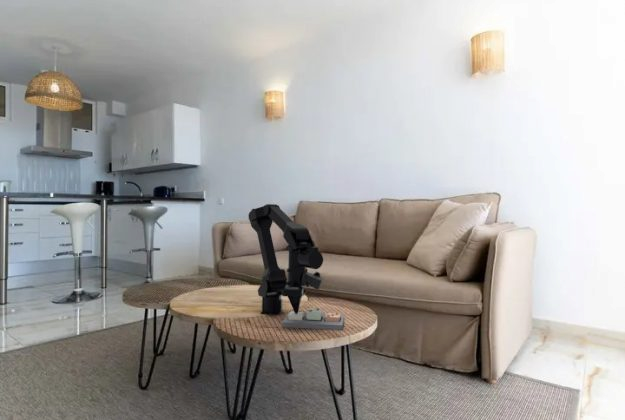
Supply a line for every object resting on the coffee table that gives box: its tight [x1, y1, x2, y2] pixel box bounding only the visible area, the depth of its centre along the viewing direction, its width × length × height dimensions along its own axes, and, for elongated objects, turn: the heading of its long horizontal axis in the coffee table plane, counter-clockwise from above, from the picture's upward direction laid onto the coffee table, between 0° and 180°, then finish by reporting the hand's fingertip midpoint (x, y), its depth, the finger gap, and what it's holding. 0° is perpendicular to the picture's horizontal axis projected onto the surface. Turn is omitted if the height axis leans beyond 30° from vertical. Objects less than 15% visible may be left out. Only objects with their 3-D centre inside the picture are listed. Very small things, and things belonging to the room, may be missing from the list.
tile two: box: [306, 307, 323, 320], centre depth 130 cm, size 4×4×3 cm
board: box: [281, 311, 345, 331], centre depth 130 cm, size 19×12×2 cm, turn 82°
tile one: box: [287, 311, 305, 320], centre depth 131 cm, size 4×4×3 cm
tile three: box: [325, 312, 341, 322], centre depth 129 cm, size 4×4×3 cm
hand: (296, 312), depth 131 cm, fingers closed
